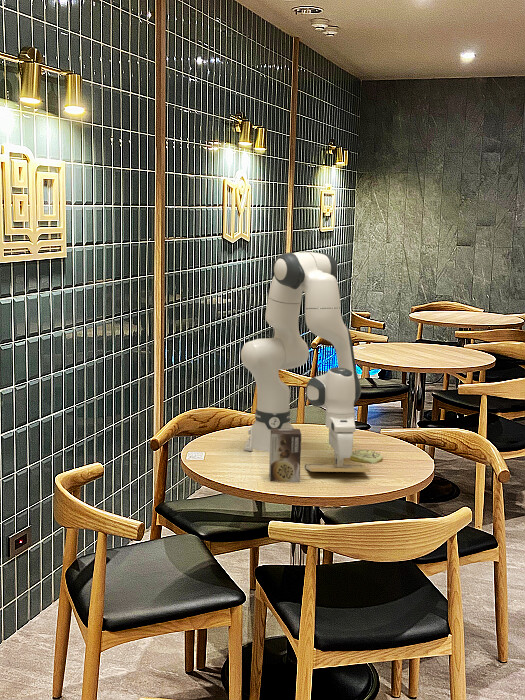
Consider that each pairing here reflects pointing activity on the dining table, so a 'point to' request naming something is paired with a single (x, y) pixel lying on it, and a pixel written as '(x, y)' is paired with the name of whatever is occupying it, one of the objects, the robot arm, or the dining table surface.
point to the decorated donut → (366, 456)
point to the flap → (337, 468)
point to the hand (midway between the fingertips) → (339, 465)
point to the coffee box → (285, 455)
